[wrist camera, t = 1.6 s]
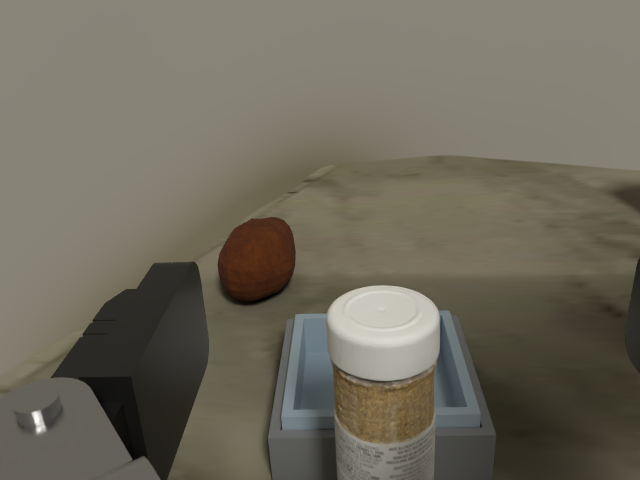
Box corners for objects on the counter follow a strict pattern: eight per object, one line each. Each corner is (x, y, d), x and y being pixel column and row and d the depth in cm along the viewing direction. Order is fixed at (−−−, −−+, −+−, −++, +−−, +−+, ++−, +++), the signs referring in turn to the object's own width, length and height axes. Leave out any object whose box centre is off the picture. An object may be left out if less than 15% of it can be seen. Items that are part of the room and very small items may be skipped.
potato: (320, 275, 56) (316, 210, 54) (267, 325, 49) (259, 253, 46) (256, 263, 59) (250, 201, 57) (197, 308, 52) (186, 239, 49)
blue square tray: (290, 356, 45) (286, 309, 43) (455, 353, 44) (458, 305, 42) (273, 483, 34) (266, 426, 32) (492, 481, 33) (497, 422, 31)
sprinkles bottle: (403, 496, 32) (405, 272, 27) (451, 567, 28) (464, 321, 23) (324, 526, 31) (308, 295, 25) (362, 605, 27) (354, 352, 22)
